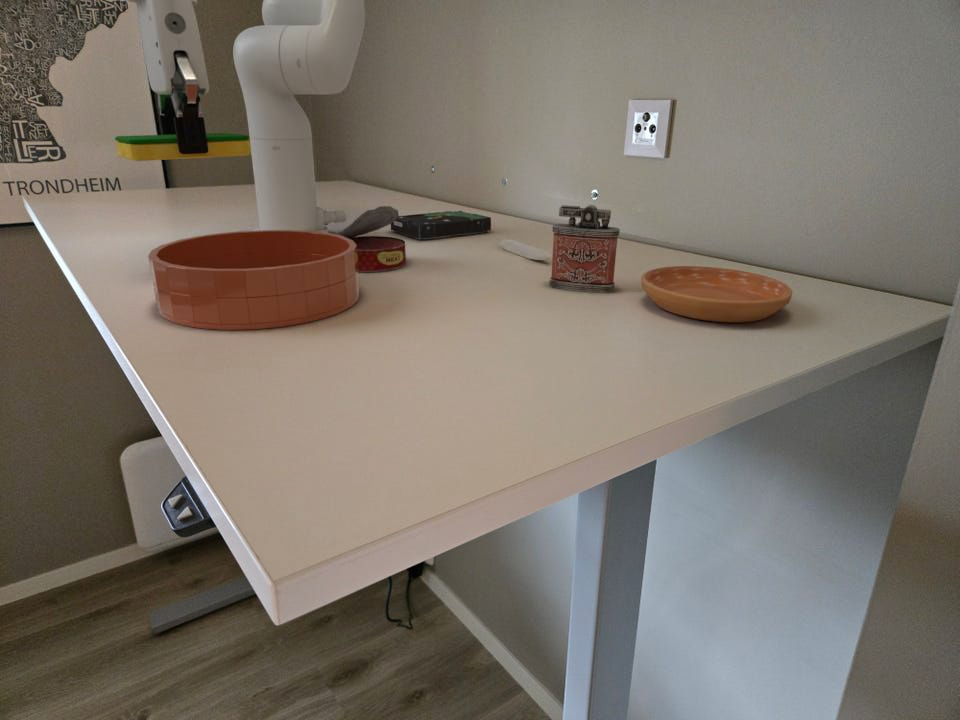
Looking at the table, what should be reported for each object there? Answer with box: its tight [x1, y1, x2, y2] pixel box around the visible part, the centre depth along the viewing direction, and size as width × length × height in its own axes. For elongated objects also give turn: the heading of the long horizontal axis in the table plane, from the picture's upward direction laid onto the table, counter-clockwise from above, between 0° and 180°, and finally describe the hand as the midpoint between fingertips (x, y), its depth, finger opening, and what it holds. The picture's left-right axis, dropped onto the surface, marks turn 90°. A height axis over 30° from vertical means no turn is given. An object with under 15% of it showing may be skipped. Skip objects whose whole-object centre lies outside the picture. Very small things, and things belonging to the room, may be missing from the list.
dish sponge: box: [114, 132, 251, 162], centre depth 80 cm, size 7×14×2 cm, turn 130°
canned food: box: [337, 205, 407, 273], centre depth 90 cm, size 11×10×10 cm
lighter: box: [549, 204, 621, 293], centre depth 79 cm, size 8×3×10 cm, turn 71°
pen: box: [500, 238, 552, 261], centre depth 97 cm, size 2×14×2 cm, turn 27°
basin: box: [147, 230, 360, 331], centre depth 73 cm, size 22×22×6 cm
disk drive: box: [390, 210, 492, 240], centre depth 114 cm, size 10×3×15 cm
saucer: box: [640, 265, 793, 323], centre depth 73 cm, size 16×16×3 cm
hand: (185, 149), depth 80 cm, fingers closed on dish sponge, 7 cm apart
